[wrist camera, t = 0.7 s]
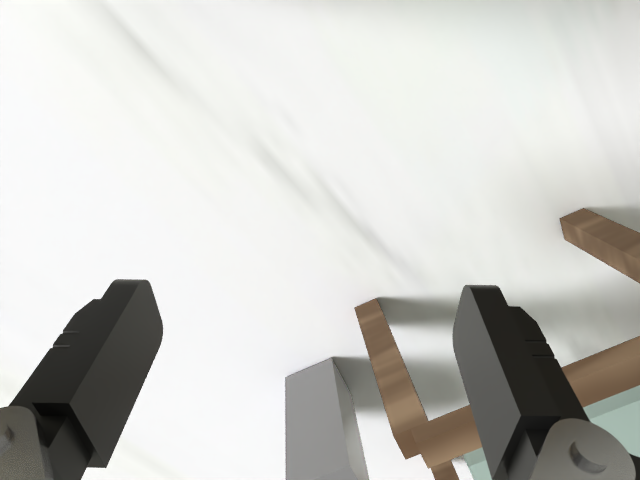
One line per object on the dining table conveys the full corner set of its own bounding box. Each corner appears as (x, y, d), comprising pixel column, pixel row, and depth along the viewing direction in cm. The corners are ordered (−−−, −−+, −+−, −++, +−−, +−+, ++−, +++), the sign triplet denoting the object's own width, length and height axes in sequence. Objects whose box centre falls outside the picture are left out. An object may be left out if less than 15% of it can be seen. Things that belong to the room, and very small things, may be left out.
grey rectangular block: (285, 377, 37) (285, 490, 27) (331, 357, 37) (349, 465, 27) (306, 412, 39) (314, 532, 29) (351, 394, 39) (375, 508, 28)
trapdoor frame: (354, 307, 35) (397, 450, 22) (583, 208, 34) (783, 296, 20) (430, 462, 43) (497, 641, 29) (621, 386, 41) (787, 538, 27)
